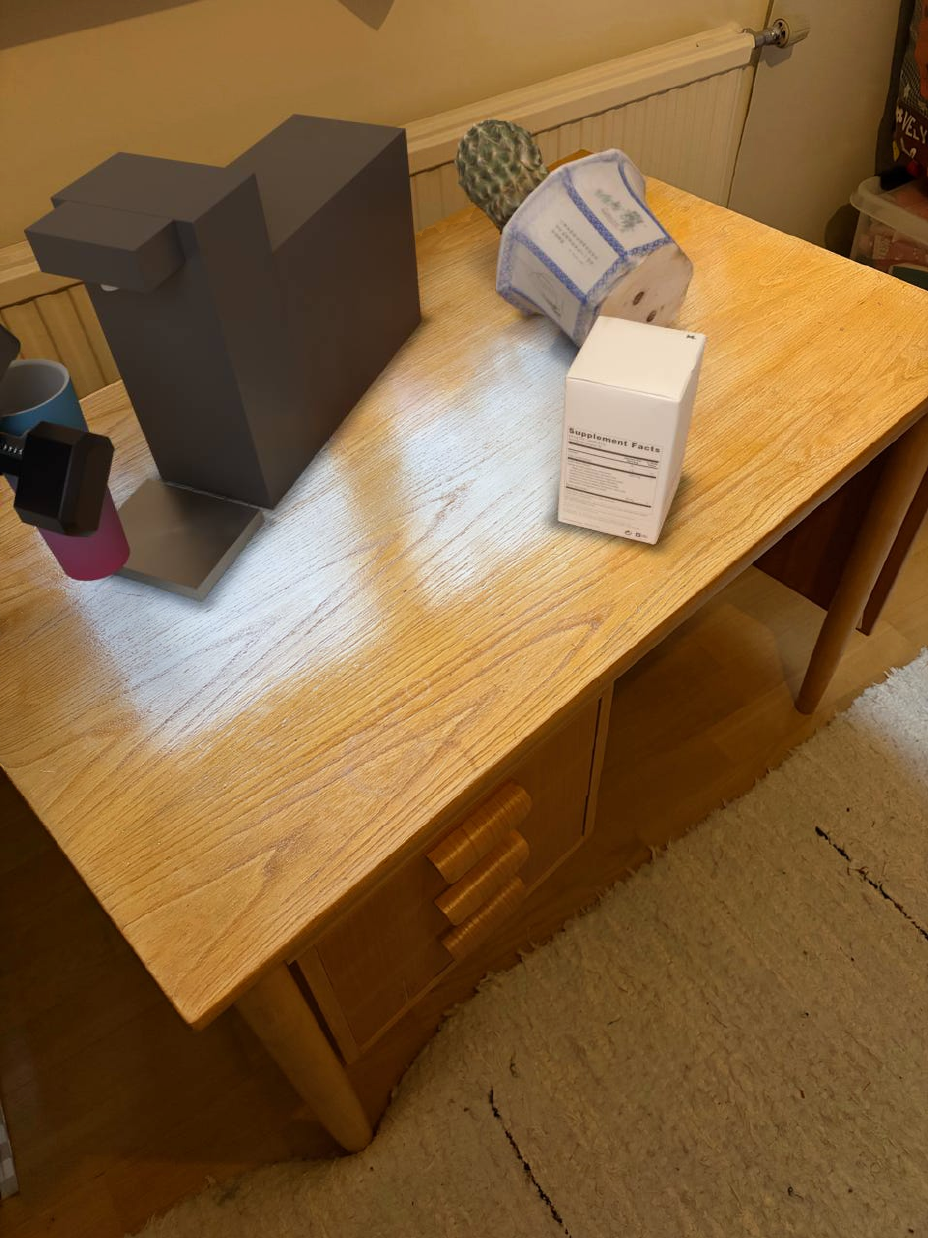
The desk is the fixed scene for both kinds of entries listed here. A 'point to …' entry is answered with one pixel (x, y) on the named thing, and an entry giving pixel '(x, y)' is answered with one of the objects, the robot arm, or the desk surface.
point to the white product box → (627, 426)
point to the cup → (52, 398)
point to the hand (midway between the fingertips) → (70, 469)
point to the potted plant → (572, 233)
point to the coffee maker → (245, 293)
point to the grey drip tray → (183, 537)
